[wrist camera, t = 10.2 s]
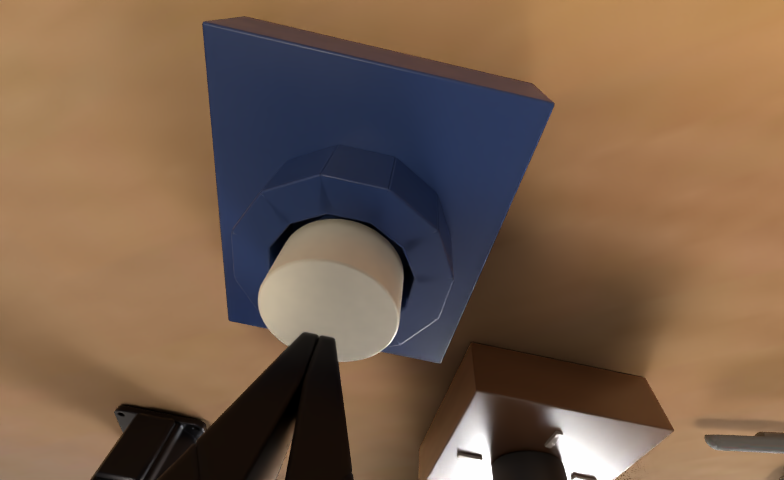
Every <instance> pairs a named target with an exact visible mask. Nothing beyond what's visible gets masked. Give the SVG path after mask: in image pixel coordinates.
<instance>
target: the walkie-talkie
mask: <svg viewBox="0 0 784 480" xmlns="http://www.w3.org/2000/svg"><path fill="white" fill-rule="evenodd" d="M705 441H706V443H707V444H708V445H709V446H710V447H711V448H713V449H715V450H723V451H743V452H763V453H783V454H784V433H776V432H759V433H757V434H756V435H755V436H736V435H705ZM780 480H784V476H783V477H781V479H780Z"/></svg>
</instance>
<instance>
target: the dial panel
mask: <svg viewBox="0 0 784 480" xmlns="http://www.w3.org/2000/svg"><path fill="white" fill-rule="evenodd" d="M672 432H674V429H673V427H672V425H671V423H670V422H669V420H668V418H667V416H666V414H665V413H664V411H663V409H662V407H661V405H660V404H659V402H658V400H657V398H656V396H655V395H654V393H653V391H652V389H651V387H650V386H649V384H648V382H647V380H646V379H645V378H643V377H638V376H633V375H628V374H623V373H618V372H614V371H609V370H604V369H599V368H594V367H589V366H584V365H580V364H575V363H570V362H565V361H560V360H555V359H550V358H546V357H541V356H536V355H531V354H526V353H521V352H516V351H512V350H507V349H502V348H497V347H492V346H487V345H482V344H478V343H473V342H471V344H470V346H469V348H468V350H467V352H466V354H465V356H464V358H463V360H462V362H461V364H460V366H459V368H458V370H457V372H456V374H455V376H454V378H453V380H452V382H451V384H450V386H449V388H448V391H447V393H446V395H445V397H444V399H443V401H442V403H441V405H440V407H439V409H438V411H437V413H436V415H435V417H434V419H433V421H432V423H431V425H430V427H429V429H428V431H427V433H426V435H425V437H424V440H423V442H422V444H421V446H420V448H419V478H418V480H493V478H492V464H493V463H494V462H495V460H497V459H498V458H500V457H501V456H503V455H506V454H509V453H513V452H520V451H536V452H542V453H547V454H550V455H552V456H554V457H556V458H558V459H559V460H560V461H561V462H562V463H563V465H564V467H565V471H566V474H567V478H568V480H614V479H615V478H616V477H618V476H619V475H620V474H621V473H623V472H624V471H625V470H626V469H628V468H629V467H630V466H631V465H633V464H634V463H635V462H636V461H638V460H639V459H640V458H641V457H643V456H644V455H645V454H646V453H648V452H649V451H650V450H651V449H653V448H654V447H655V446H656V445H657V444H659V443H660V442H661V441H662V440H664V439H665V438H666V437H667V436H669V435H670V434H671V433H672Z"/></svg>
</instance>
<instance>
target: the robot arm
mask: <svg viewBox="0 0 784 480" xmlns="http://www.w3.org/2000/svg"><path fill="white" fill-rule="evenodd" d="M114 413H115V416H116V418H117V420H118V422H119V425H120V427H121V429H122V431H123V434H122V435H121V437H120V438H119V440H118V441H117V442H116V444H115V445H114V447H113V448H112V450H111V451H110V452H109V454H108V455H107V457H106V458H105V460H104V461H103V462H102V464H101V465H100V467H99V468H98V470H97V471H96V472H95V474H94V475H93V477H92V478H91V480H276V478H277V475H278V473H279V470H280V468H281V465H282V463H283V460H284V458H285V455H286V453H287V450H288V448H289V445H290V443H291V440H292V444H291V450H290V455H289V461H288V466H287V472H286V477H285V480H354V479H353V474H352V464H351V457H350V449H349V441H348V433H347V426H346V418H345V410H344V403H343V395H342V387H341V379H340V372H339V364H338V356H337V349H336V341H335V338H333V337H329V336H324V335H321V336H318V335H317V334H314V333H309V332H303V333H301V334H300V335H299V336H298V337H297V338H296V339H295V340H294V341H293V342H292V343H291V344H290V346H289V347H288V348H287V349H286V350H285V351H284V352H283V353H282V354H281V355H280V356H279V357H278V358H277V359H276V360H275V361H274V362H273V363H272V364H271V365H270V366H269V367H268V368H267V369H266V370H265V371H264V372H263V373H262V374H261V375H260V376H259V377H258V378H257V379H256V380H255V381H254V382H253V383H252V384H251V385H250V386H249V387H248V388H247V389H246V390H245V391H244V392H243V393H242V394H241V395H240V397H239V398H238V399H237V400H236V401H235V402H234V403H233V404H232V405H231V406H230V407H229V408H228V409H227V410H226V411H225V412H224V413H223V414H222V415H221V416H220V417H219V418H218V419H217V420H216V421H215V422H214V423H213V424H212V425H211V426H210V427H209V428H208V429H207V428H206V424H205V423H204V422H203V421H200V420H196V419H191V418H185V417H180V416H175V415H170V414H165V413H159V412H154V411H149V410H144V409H139V408H134V407H128V406H123V405H120V406H118V408H117V409H116V410H115V412H114ZM292 438H293V439H292Z"/></svg>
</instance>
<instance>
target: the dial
mask: <svg viewBox="0 0 784 480" xmlns="http://www.w3.org/2000/svg"><path fill="white" fill-rule="evenodd" d="M492 478H493V480H568V478H567V474H566V471H565V467H564V465H563V463H562V462H561V461H560V460H559V459H558V458H556V457H554V456H552V455H550V454H547V453H542V452H536V451H520V452H513V453H509V454H506V455H503V456H501V457H500V458H498V459H497V460H495V462H494V463H493V464H492Z"/></svg>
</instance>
